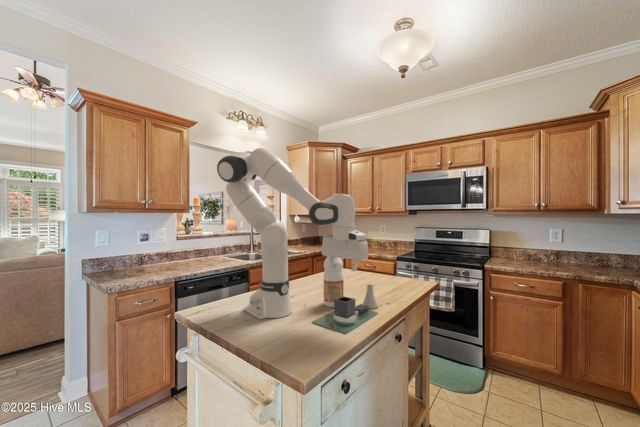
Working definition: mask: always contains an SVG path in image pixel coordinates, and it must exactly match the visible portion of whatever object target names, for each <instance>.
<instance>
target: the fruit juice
mask: <svg viewBox="0 0 640 427" xmlns="http://www.w3.org/2000/svg"><path fill="white" fill-rule="evenodd" d="M334 261H335V263H337V268H332V267H331V262H330V260H329V256H326V258H325V259H324V262H323V268H324V273H323V305H324V306H325V307H328V308H334V300H335V299H337V298H340V297H342V296H344V272H343V267H344V261H343V260H342V258H338V257H335V259H334Z"/></svg>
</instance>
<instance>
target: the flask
mask: <svg viewBox="0 0 640 427" xmlns="http://www.w3.org/2000/svg"><path fill="white" fill-rule="evenodd" d="M362 305H367V306H368V310H372V309H375V310H376V309H377V308H378V307H379V305H378V302H377V300H376V297H375V294H374V285H373V284H372V283H371V284H370V283H369V284H366V293H365V296H364V299H363V303H362Z"/></svg>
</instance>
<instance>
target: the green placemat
mask: <svg viewBox="0 0 640 427" xmlns="http://www.w3.org/2000/svg"><path fill="white" fill-rule="evenodd" d="M377 315H379V312H377V311H374V310H371V309H368V306H367V305H363V303H362V304H361V303H360V304H358V305H355V315H353V316H351V317H349V318H348V319H347V318H343V317H340V316H336V315H334V310H333V311H331V312H329V313H327V314H325V315H323V316H320V317H318V318H316V319H314V320H311V323H312V324H314V325H316V326H320V327H323V328H327V329H329V330H332V331H335V332H338V333H341V334H345V335H347V334H348V333H350V332H351V331H353V330H355V329H357V328H358V327H360V326H361V325H363V324H365V322H368V321H369V320H371V319H372V318H374V317H375V316H377Z"/></svg>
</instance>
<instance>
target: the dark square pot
mask: <svg viewBox="0 0 640 427" xmlns="http://www.w3.org/2000/svg"><path fill="white" fill-rule="evenodd" d="M355 307H356V298H353V297H349V296H344V295H343V296H342V297H340V298H337V299H335V300H334V307H333V311H334V315H336V316H340V317H343V318H347V319H348V318H349V317H351V316H353V315H355Z"/></svg>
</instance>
